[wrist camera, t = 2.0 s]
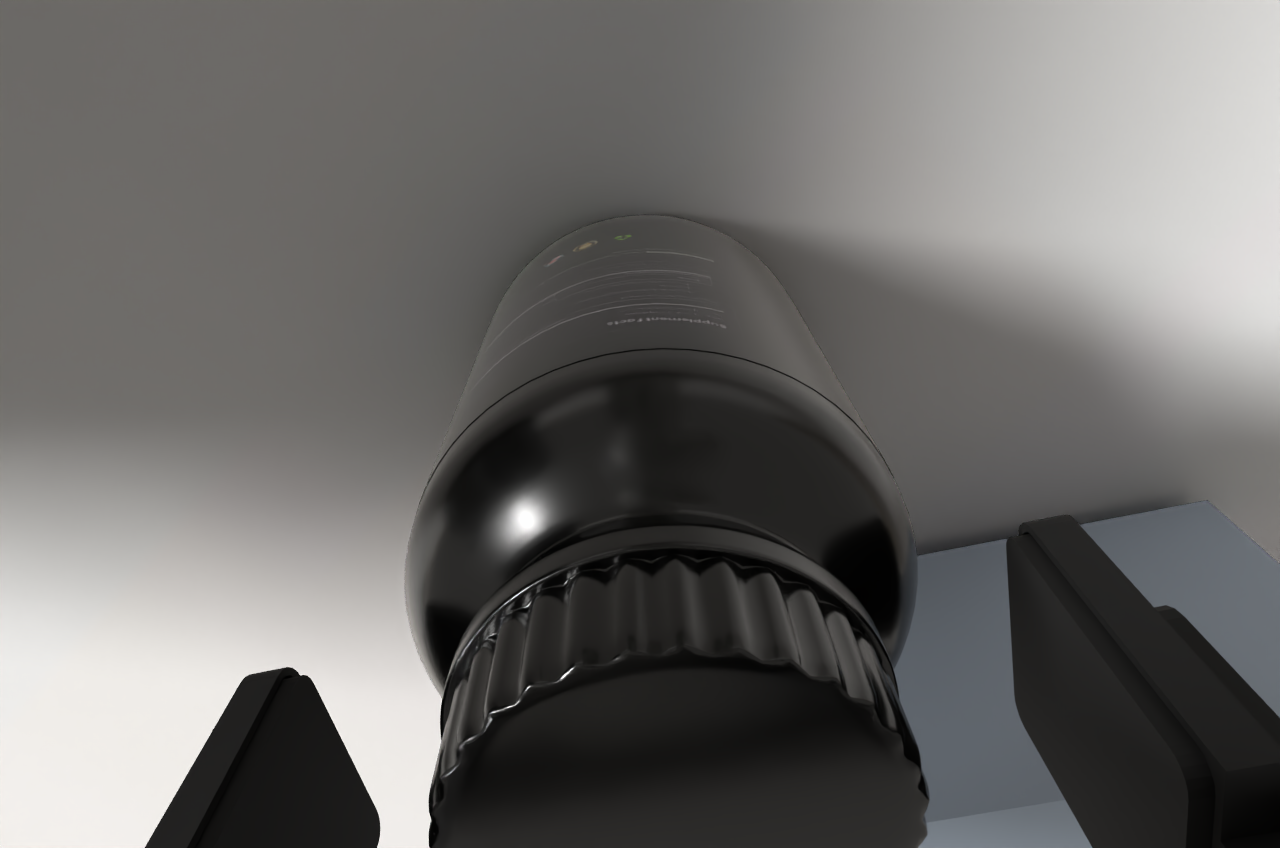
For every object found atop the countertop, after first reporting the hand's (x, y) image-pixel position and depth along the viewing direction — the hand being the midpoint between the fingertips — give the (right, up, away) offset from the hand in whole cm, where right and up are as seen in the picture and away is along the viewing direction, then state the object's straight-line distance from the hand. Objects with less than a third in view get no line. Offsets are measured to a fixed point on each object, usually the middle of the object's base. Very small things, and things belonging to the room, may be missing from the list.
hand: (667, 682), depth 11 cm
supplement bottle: (0, +5, +8) cm, 9 cm away
